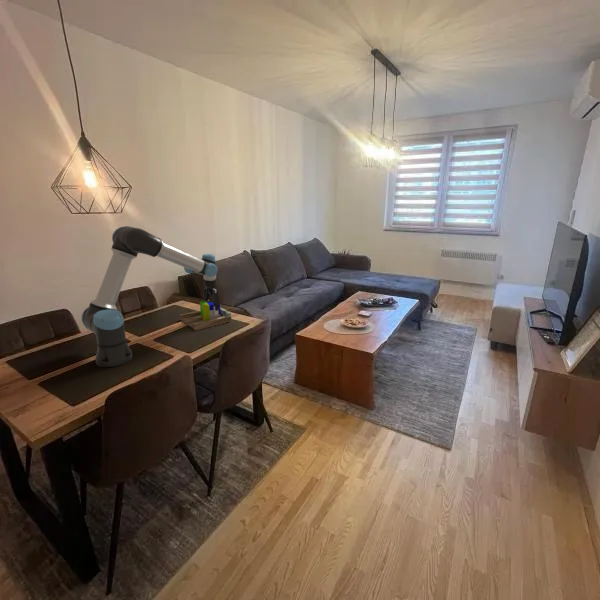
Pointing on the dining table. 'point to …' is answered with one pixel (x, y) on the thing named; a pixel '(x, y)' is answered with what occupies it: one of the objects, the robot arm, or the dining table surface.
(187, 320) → the board
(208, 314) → the puzzle toy
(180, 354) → the dining table surface
